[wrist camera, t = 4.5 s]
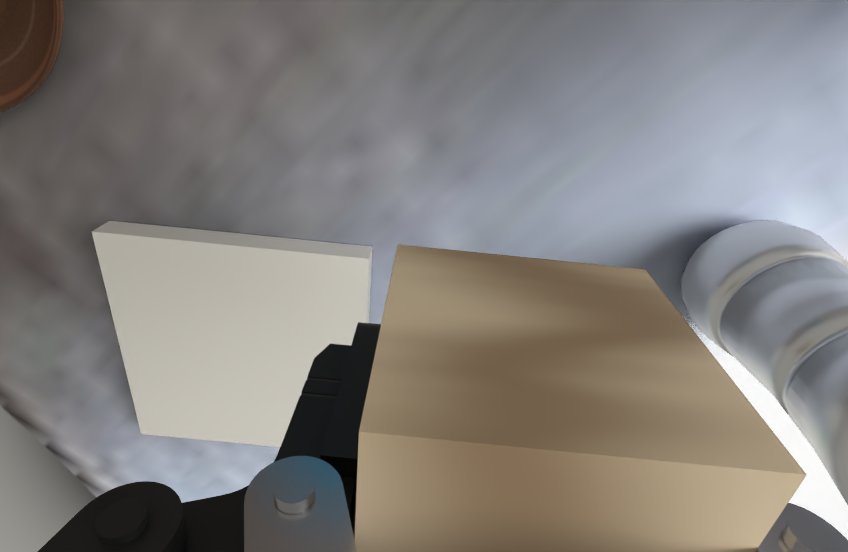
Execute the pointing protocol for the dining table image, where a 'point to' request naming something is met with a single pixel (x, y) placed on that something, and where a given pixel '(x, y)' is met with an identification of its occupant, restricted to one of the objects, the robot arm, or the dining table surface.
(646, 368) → the beech block
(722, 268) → the plastic bottle
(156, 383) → the base plate
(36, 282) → the dining table surface
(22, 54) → the cup and saucer
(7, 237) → the dining table surface
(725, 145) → the dining table surface
